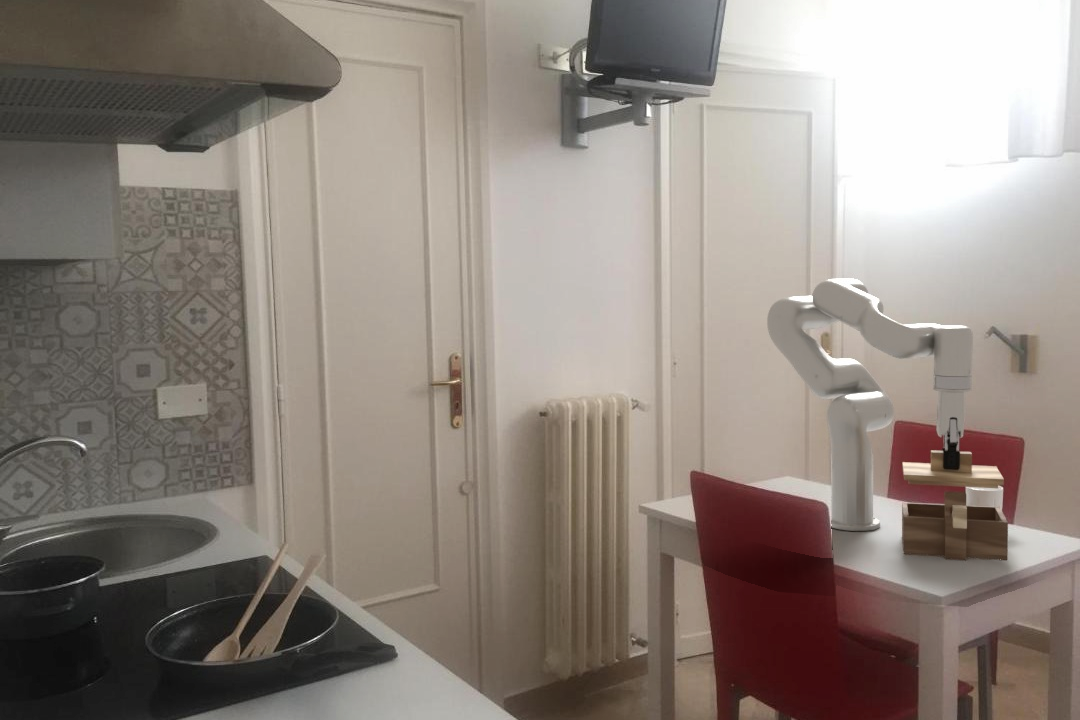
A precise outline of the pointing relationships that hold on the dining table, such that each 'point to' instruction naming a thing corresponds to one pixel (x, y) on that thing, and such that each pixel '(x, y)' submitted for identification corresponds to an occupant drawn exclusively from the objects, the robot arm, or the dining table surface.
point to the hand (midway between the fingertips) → (950, 467)
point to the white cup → (984, 496)
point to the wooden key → (959, 516)
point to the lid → (952, 473)
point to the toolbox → (954, 530)
